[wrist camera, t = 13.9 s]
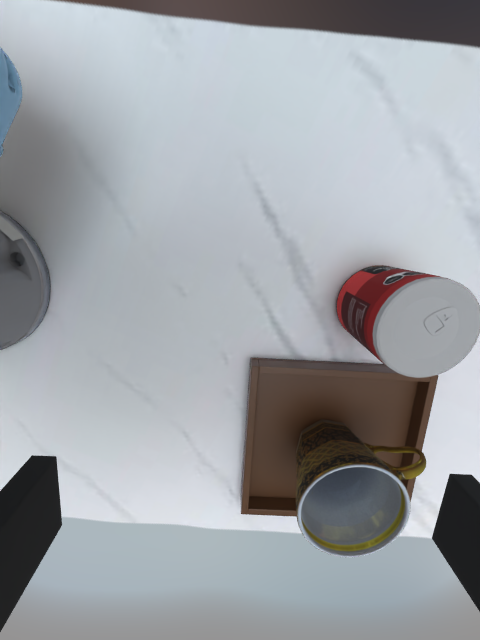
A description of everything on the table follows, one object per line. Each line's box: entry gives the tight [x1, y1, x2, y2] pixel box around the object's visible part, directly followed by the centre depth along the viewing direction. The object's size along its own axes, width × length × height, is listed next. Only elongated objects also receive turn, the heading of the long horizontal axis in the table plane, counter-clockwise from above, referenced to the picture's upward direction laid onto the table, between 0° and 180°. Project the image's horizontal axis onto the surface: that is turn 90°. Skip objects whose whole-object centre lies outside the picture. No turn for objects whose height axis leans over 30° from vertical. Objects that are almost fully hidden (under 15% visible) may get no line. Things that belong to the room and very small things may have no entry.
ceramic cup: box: [296, 419, 426, 557], centre depth 34 cm, size 13×10×10 cm
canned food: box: [337, 266, 480, 378], centre depth 30 cm, size 8×8×11 cm
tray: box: [241, 358, 438, 516], centre depth 38 cm, size 20×19×2 cm
